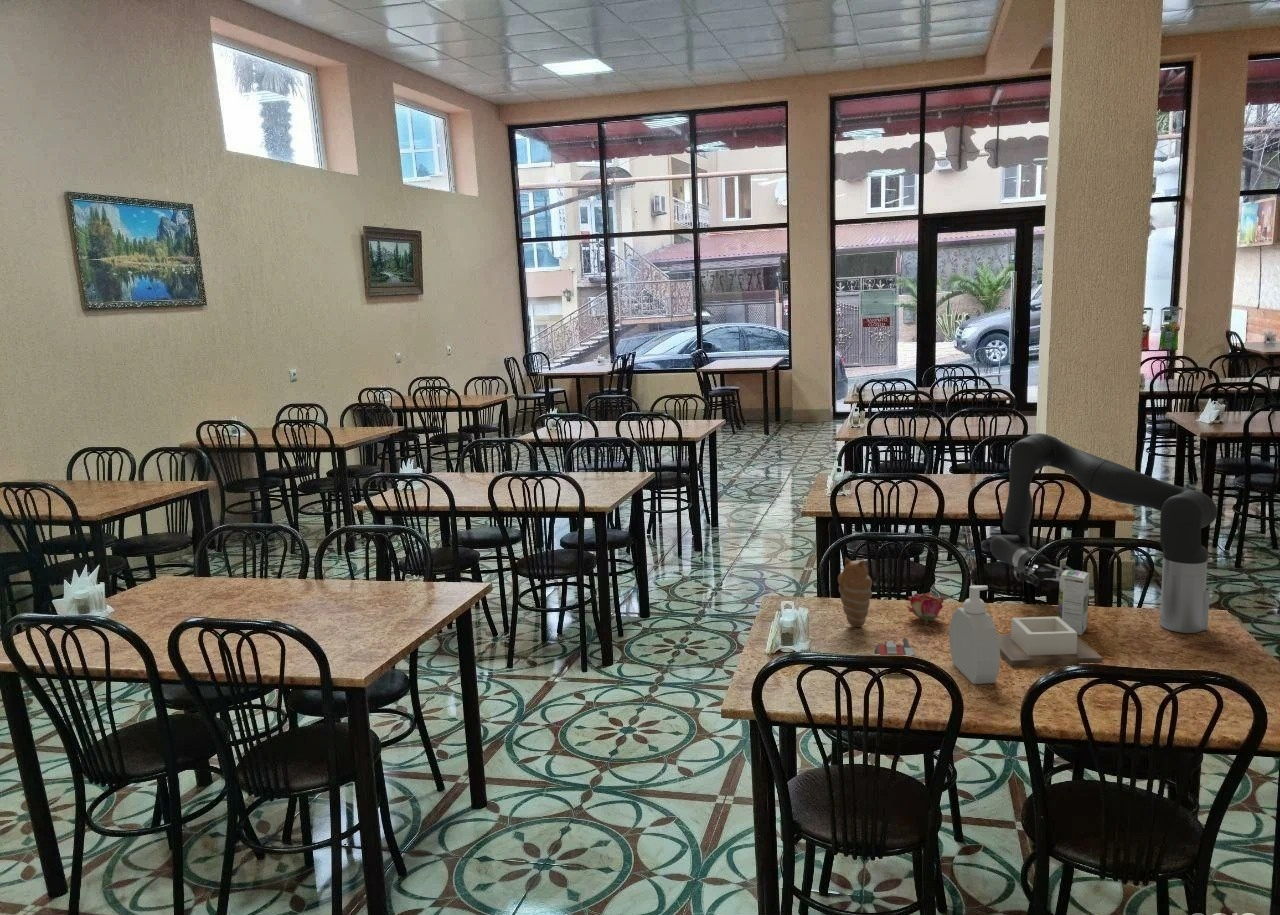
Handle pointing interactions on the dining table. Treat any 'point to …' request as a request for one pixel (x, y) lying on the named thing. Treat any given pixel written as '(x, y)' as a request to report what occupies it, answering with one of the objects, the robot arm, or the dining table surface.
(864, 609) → the cat ice cream
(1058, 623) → the white open square box
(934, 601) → the flower
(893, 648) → the walkie-talkie
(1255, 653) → the dining table surface
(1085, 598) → the syrup box
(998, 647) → the soap bottle
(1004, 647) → the walnut stand
